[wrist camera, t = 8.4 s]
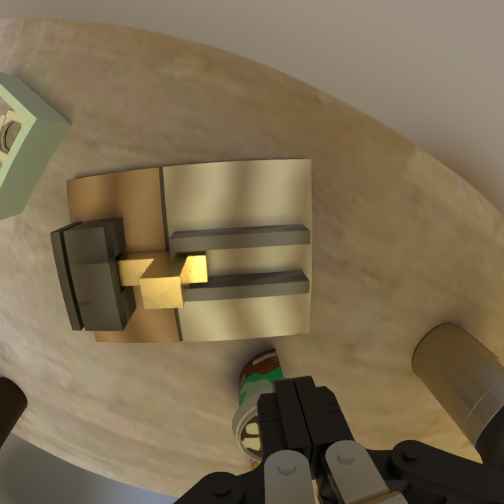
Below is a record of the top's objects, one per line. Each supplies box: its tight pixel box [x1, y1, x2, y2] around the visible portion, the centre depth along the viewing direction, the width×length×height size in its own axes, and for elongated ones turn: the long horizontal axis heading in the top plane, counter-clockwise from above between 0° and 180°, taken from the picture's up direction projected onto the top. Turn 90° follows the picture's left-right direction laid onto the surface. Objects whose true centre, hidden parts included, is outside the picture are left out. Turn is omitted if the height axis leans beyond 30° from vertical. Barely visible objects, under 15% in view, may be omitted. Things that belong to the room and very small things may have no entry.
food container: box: [232, 349, 284, 462], centre depth 31 cm, size 12×6×10 cm, turn 9°
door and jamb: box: [50, 159, 312, 343], centre depth 27 cm, size 24×18×7 cm
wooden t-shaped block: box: [115, 250, 209, 309], centre depth 25 cm, size 12×2×7 cm, turn 92°
